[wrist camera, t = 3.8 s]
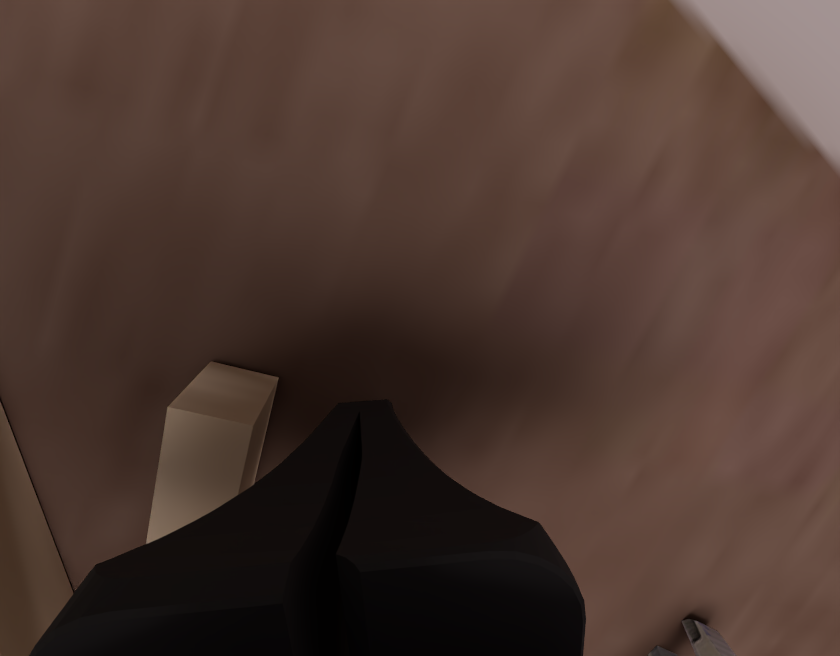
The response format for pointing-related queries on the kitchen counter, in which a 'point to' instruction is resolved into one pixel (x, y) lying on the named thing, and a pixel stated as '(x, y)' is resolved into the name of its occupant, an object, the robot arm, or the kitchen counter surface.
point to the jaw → (210, 445)
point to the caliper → (700, 641)
